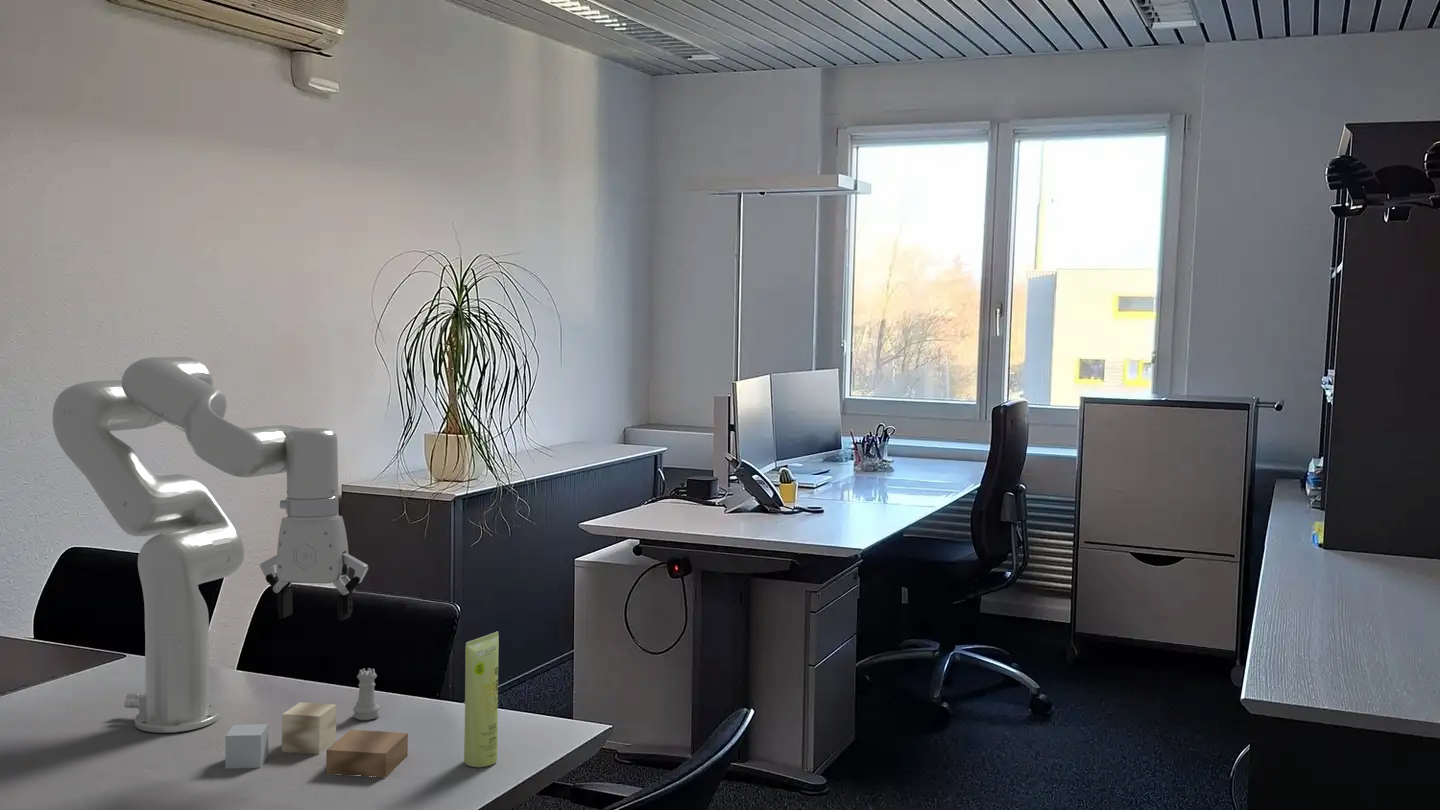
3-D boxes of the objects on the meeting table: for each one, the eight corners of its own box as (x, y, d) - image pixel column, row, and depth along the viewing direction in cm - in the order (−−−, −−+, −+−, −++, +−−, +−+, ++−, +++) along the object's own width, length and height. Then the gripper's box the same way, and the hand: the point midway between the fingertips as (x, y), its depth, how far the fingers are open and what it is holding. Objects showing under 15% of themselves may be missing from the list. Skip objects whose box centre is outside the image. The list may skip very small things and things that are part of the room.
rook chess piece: (372, 722, 200) (372, 675, 199) (347, 720, 200) (348, 672, 200) (385, 714, 204) (385, 667, 203) (360, 711, 205) (361, 665, 204)
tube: (498, 768, 180) (500, 640, 179) (463, 770, 179) (465, 641, 178) (496, 755, 186) (498, 631, 185) (463, 757, 185) (464, 632, 184)
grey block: (225, 769, 178) (225, 735, 177) (233, 757, 182) (234, 724, 182) (260, 768, 178) (260, 735, 178) (268, 756, 183) (268, 724, 183)
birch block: (282, 752, 185) (282, 714, 185) (299, 739, 191) (300, 702, 191) (319, 754, 184) (319, 716, 184) (336, 741, 190) (336, 704, 190)
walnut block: (326, 776, 176) (326, 749, 176) (350, 755, 185) (351, 729, 185) (385, 780, 176) (385, 753, 175) (407, 758, 184) (407, 733, 184)
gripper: (248, 510, 184) (250, 621, 184) (354, 512, 181) (356, 625, 182) (273, 503, 191) (275, 610, 192) (376, 506, 188) (377, 614, 189)
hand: (314, 617), depth 187 cm, fingers open, 9 cm apart
